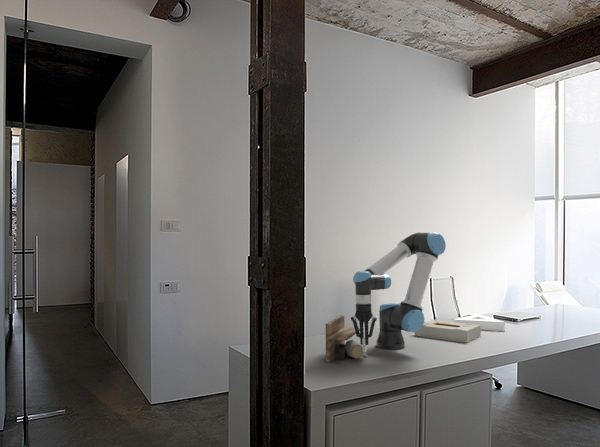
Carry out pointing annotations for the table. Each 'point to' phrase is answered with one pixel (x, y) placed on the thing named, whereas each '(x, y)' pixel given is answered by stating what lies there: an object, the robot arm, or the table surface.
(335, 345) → the walnut shelf
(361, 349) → the ceramic mug
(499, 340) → the table surface
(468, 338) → the box
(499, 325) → the triangle block
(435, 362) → the table surface
